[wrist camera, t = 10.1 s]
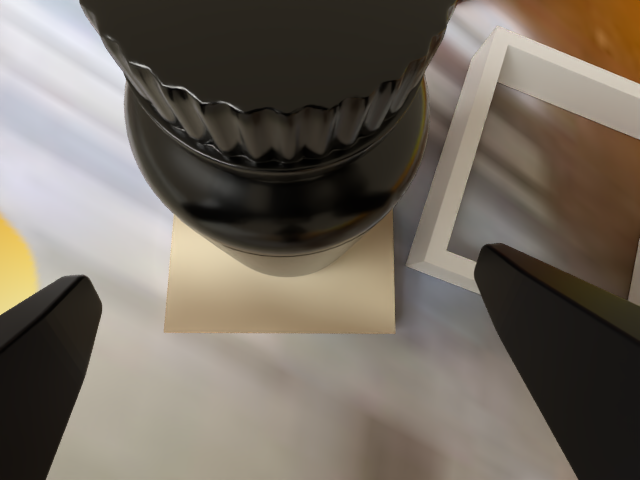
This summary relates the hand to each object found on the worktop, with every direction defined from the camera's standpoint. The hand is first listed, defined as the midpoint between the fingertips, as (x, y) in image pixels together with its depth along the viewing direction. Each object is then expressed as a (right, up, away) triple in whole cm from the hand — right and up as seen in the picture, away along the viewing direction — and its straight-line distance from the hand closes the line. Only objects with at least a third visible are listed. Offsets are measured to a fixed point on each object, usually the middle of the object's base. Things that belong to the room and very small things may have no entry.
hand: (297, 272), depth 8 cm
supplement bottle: (-1, +2, +8) cm, 8 cm away
